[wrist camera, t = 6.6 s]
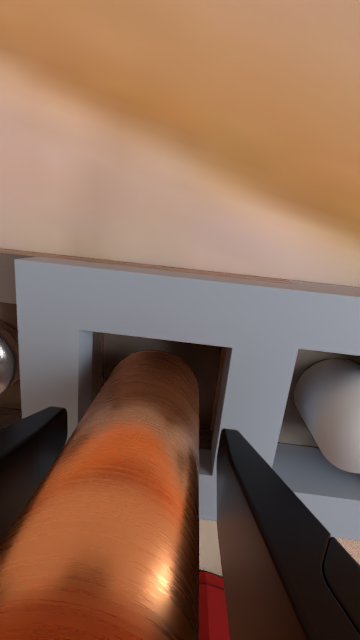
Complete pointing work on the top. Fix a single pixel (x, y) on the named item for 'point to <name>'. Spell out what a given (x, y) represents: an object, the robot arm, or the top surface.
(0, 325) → the lower chain end
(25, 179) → the top surface
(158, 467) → the pin
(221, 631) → the plastic cup
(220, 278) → the frame
